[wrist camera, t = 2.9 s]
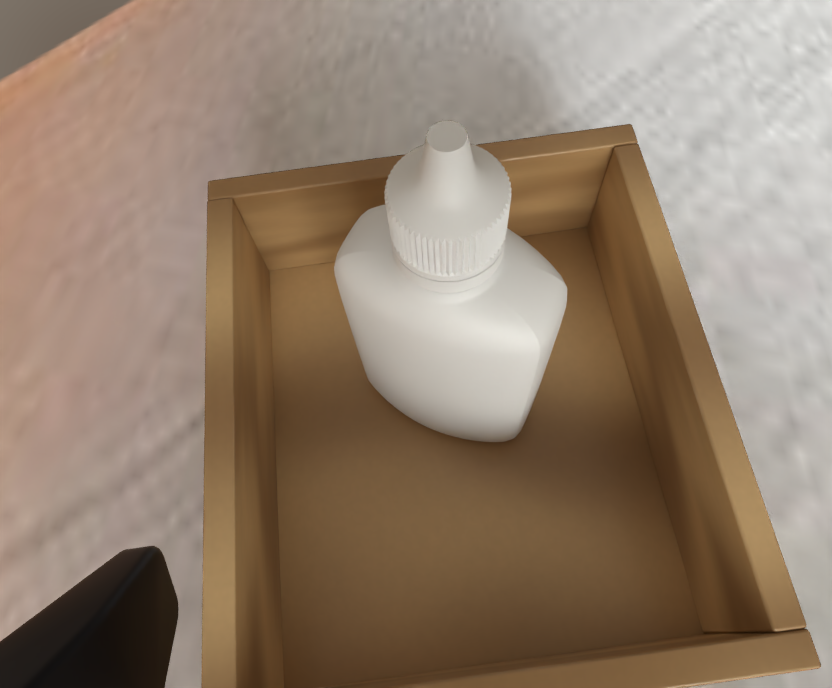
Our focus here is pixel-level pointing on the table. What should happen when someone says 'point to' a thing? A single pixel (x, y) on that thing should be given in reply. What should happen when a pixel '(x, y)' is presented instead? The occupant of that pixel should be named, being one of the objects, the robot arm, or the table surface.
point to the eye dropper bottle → (450, 293)
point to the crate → (478, 463)
